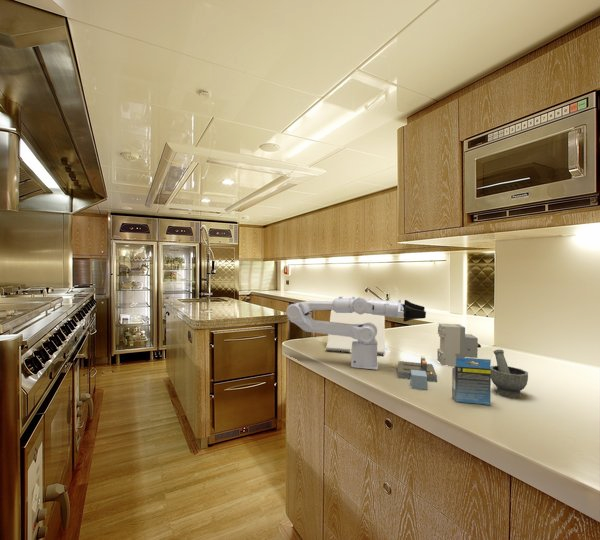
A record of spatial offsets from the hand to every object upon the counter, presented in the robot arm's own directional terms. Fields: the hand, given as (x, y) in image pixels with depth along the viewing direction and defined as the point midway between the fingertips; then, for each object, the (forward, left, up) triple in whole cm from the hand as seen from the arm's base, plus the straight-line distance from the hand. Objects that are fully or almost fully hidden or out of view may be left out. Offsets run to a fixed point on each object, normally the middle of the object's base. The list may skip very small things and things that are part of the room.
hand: (425, 312), depth 115 cm
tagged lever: (0, -6, -19) cm, 20 cm away
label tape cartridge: (+10, -24, -22) cm, 34 cm away
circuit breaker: (+14, +16, -21) cm, 30 cm away
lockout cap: (-3, -16, -21) cm, 26 cm away
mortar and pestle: (+22, -13, -21) cm, 33 cm away
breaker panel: (-3, -3, -21) cm, 22 cm away
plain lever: (0, 0, -19) cm, 19 cm away
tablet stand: (-27, +26, -22) cm, 43 cm away
